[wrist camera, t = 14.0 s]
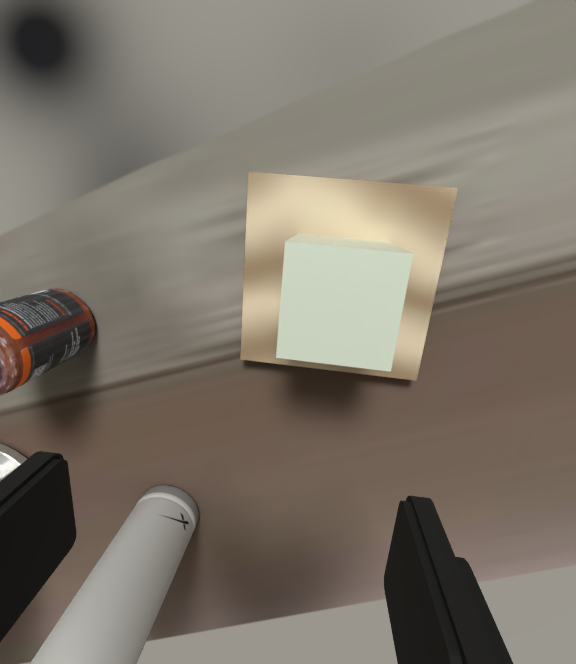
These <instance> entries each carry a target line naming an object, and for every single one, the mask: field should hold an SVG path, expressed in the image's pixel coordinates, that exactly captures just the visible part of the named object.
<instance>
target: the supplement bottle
mask: <svg viewBox="0 0 576 664" xmlns="http://www.w3.org/2000/svg"><path fill="white" fill-rule="evenodd" d="M94 333H95V323H94V319H93V316H92V313H91V312H90V310H89V308H88V307H87V305H86V304H85V303H84V302H83V301H82V300H81V299H80V298H79V297H77V296H76V295H74V294H73V293H71V292H68V291H65V290H62V289H49V290H43V291H40V292H36V293H32V294H29V295H25V296H21V297H18V298H14V299H11V300H7V301H3V302H0V395H3V394H5V393H8V392H10V391H12V390H14V389H15V388H17V387H19V386H21V385H23V384H25V383H26V382H28V381H30V380H32V379H34V378H36V377H37V376H39V375H41V374H42V373H44V372H46V371H48V370H50V369H51V368H53V367H55V366H57V365H59V364H60V363H62V362H64V361H66V360H67V359H69V358H71V357H73V356H75V355H76V354H78V353H80V352H81V351H83V350H84V349H86V348H87V347H88V346H89V345H90V343H91V342H92V340H93V337H94Z"/></svg>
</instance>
